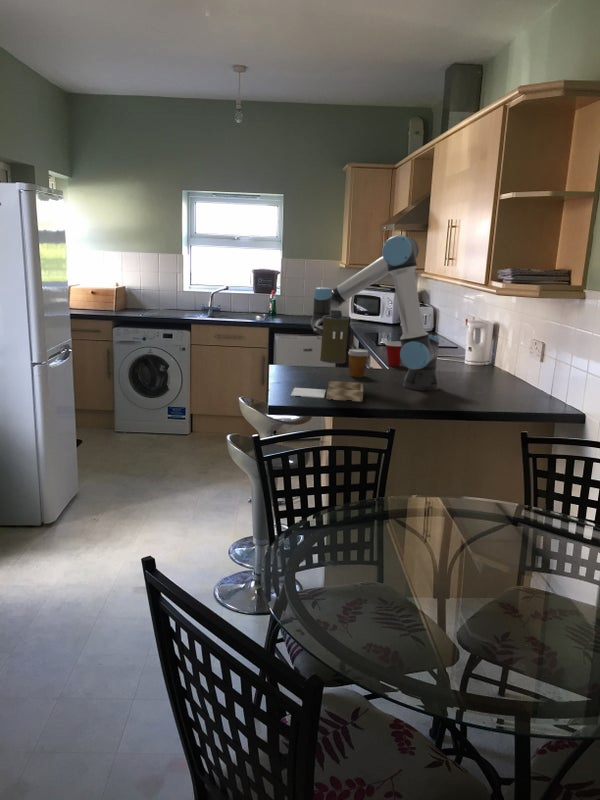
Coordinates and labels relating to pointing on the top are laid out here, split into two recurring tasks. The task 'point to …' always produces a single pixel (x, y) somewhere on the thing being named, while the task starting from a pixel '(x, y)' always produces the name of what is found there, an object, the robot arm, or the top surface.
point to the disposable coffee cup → (357, 362)
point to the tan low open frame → (345, 391)
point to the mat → (308, 392)
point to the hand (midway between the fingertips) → (337, 335)
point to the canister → (335, 347)
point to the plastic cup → (393, 353)
